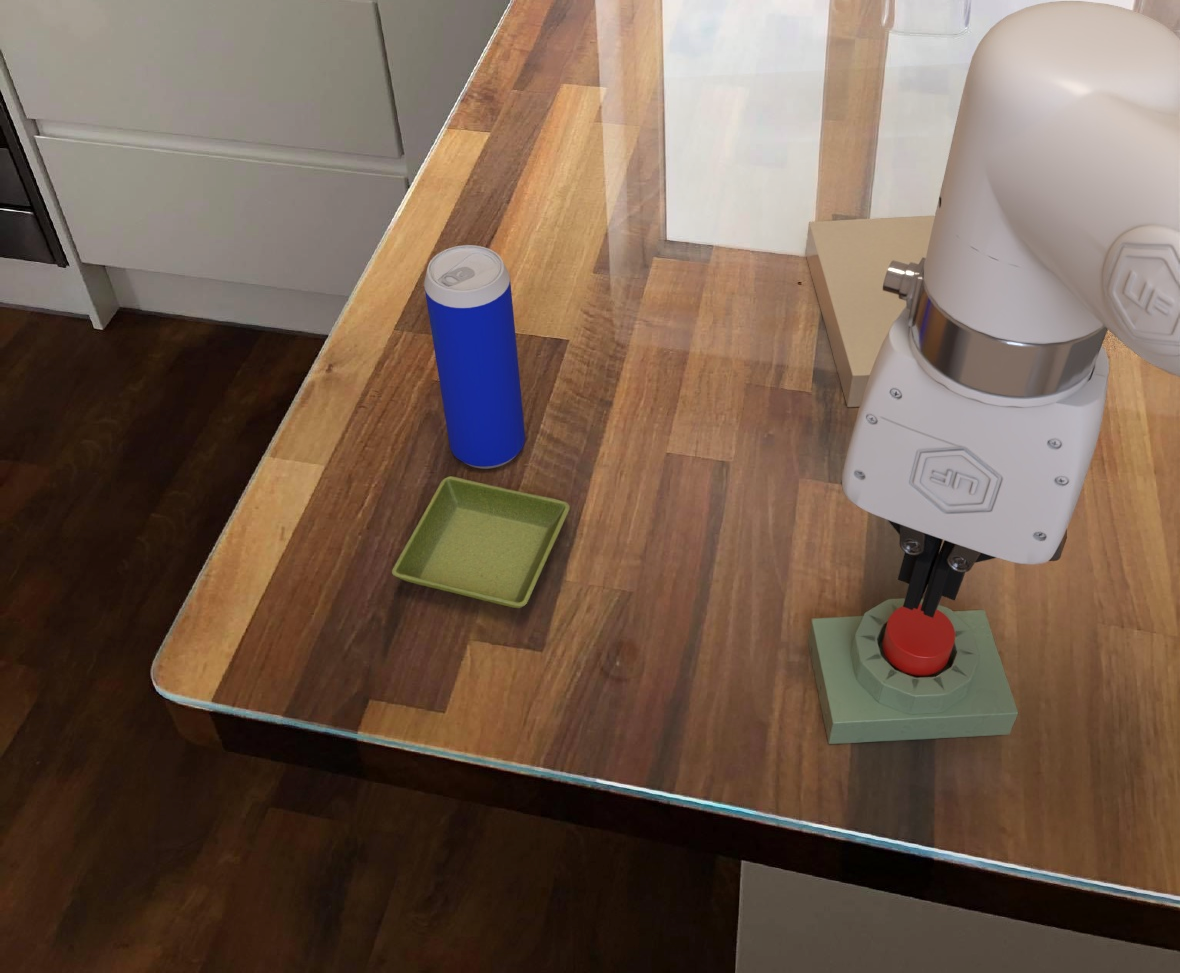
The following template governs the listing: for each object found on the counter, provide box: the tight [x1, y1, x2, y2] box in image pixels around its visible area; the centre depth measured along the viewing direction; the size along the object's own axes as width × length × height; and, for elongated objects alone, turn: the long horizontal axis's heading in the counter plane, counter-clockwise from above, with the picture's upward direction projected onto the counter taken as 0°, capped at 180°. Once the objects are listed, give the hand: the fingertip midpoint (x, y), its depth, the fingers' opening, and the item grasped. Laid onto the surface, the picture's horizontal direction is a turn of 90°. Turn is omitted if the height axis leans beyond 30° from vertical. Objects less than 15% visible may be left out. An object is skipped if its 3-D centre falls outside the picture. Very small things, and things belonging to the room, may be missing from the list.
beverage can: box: [423, 244, 526, 470], centre depth 78 cm, size 5×5×15 cm
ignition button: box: [883, 604, 955, 676], centre depth 66 cm, size 4×4×2 cm
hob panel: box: [804, 215, 935, 408], centre depth 90 cm, size 14×20×3 cm
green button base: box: [807, 597, 1019, 745], centre depth 68 cm, size 10×7×4 cm
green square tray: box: [391, 475, 571, 609], centre depth 76 cm, size 9×9×2 cm
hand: (926, 592), depth 64 cm, fingers closed
